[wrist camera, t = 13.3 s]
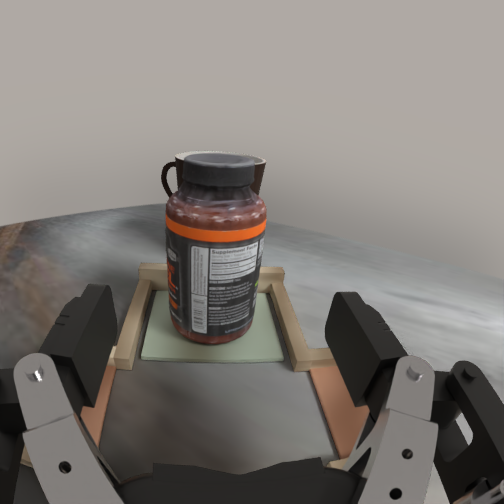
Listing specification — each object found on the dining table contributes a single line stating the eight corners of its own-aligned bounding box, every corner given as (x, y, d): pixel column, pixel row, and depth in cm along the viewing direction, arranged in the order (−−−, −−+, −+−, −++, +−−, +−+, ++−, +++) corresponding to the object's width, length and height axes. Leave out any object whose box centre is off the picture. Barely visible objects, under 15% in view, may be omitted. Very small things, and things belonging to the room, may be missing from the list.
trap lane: (330, 286, 27) (335, 268, 26) (465, 545, 5) (490, 534, 4) (91, 280, 24) (87, 260, 23) (-9, 562, 2) (-34, 552, 1)
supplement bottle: (167, 299, 23) (165, 150, 18) (240, 293, 24) (254, 152, 20) (174, 353, 17) (167, 166, 13) (264, 343, 19) (290, 169, 14)
